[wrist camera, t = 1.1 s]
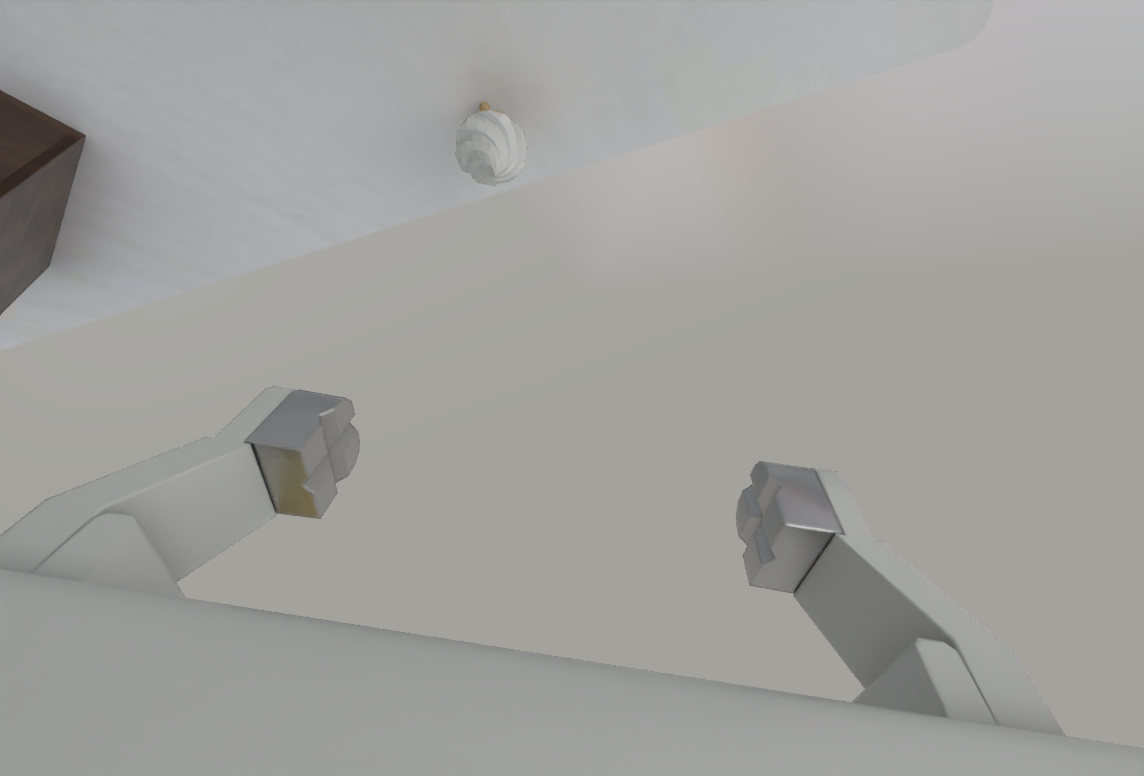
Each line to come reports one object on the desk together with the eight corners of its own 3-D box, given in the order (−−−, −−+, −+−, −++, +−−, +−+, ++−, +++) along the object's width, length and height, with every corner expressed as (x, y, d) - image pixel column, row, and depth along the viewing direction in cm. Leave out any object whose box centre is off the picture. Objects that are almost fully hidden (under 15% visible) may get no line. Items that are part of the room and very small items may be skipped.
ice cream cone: (485, 55, 42) (496, 115, 32) (527, 110, 46) (549, 179, 36) (440, 100, 44) (437, 171, 34) (484, 150, 48) (493, 226, 38)
